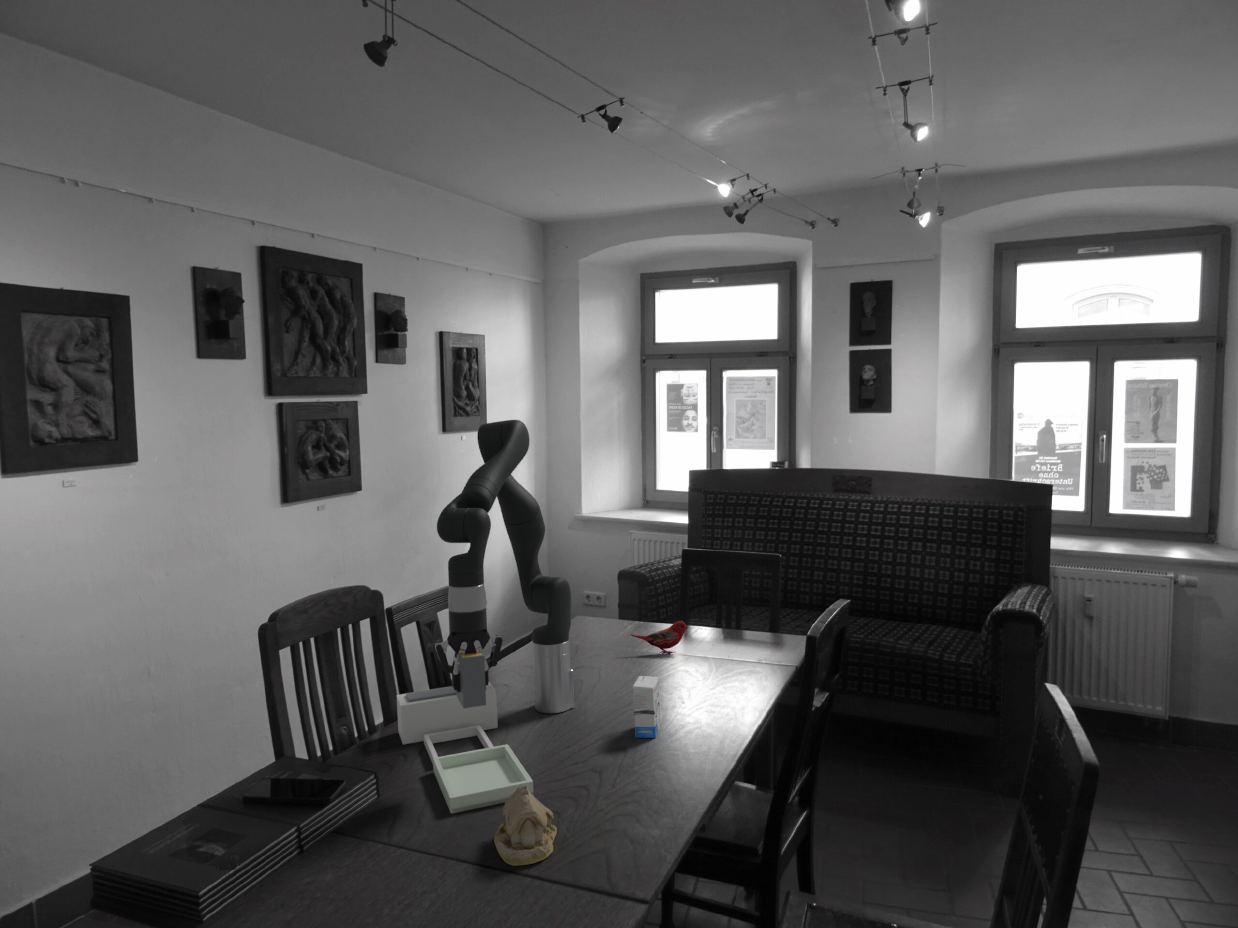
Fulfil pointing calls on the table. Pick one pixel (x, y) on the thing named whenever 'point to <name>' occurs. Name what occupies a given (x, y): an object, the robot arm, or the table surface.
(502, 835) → the ceramic model
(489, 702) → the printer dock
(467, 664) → the block
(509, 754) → the tray
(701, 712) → the table surface
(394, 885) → the table surface
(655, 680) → the ink box
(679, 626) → the decorative bird figurine
